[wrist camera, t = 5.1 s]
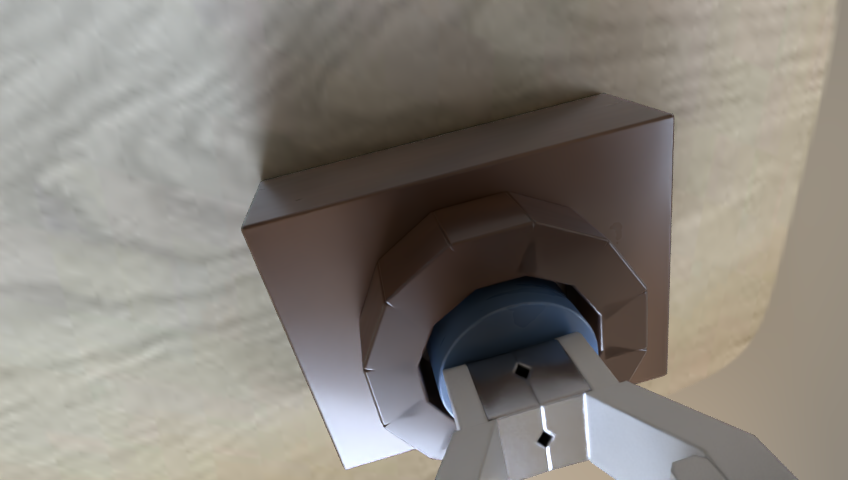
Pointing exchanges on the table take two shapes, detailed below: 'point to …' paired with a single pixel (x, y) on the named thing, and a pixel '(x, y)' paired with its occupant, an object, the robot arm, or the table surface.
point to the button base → (465, 255)
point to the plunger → (502, 324)
